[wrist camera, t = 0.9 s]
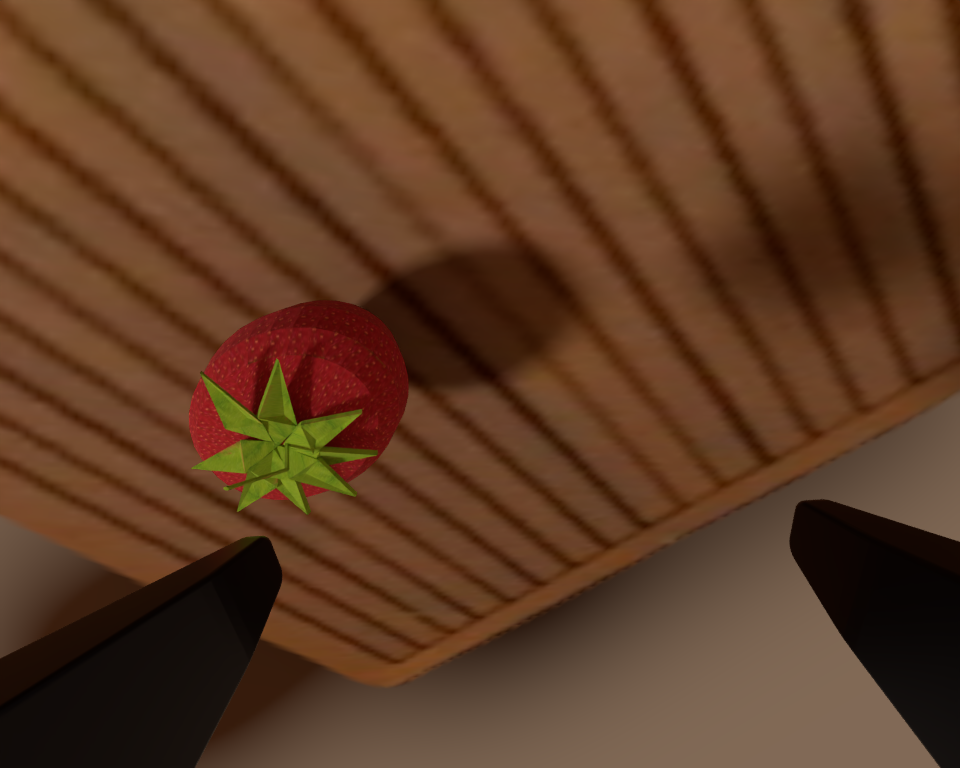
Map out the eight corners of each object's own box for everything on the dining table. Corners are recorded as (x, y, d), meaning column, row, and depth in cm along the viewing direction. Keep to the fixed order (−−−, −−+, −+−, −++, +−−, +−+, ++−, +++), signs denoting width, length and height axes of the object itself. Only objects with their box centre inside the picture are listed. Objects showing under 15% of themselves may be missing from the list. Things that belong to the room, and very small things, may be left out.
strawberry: (225, 342, 20) (46, 526, 11) (342, 218, 17) (233, 329, 9) (335, 425, 22) (259, 629, 13) (451, 326, 20) (449, 497, 11)
